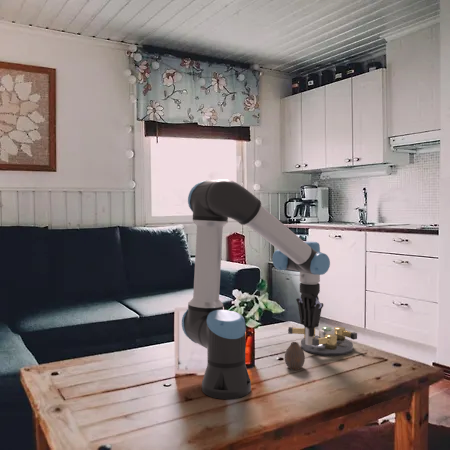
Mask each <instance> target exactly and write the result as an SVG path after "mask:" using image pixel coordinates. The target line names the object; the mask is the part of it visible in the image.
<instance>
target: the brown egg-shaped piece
mask: <svg viewBox="0 0 450 450" xmlns="http://www.w3.org/2000/svg"><path fill="white" fill-rule="evenodd" d="M305 359H306V356H305V352H304V350H303V349H302V348H301V345H299V342H298V341H292V342H290V344H289V346H288V347H287V348H286V350H285V353H284V362H285V364H286V367H287V368H288V369H290V370H295V371H296V370H300V369H301V368H302V367H303V366H304V364H305Z"/></svg>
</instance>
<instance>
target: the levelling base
mask: <svg viewBox="0 0 450 450" xmlns="http://www.w3.org/2000/svg"><path fill="white" fill-rule="evenodd" d="M326 334H334V335H335V330H334V328H332V327H331V326H322V327H321V328H319V329H318V335H315V338H316V339H317V338H322V337H325V335H326ZM300 347H301V349H302V350H303V352H304V351H305V352H306V353H309V354H313V355H316V354H317V356H324V357H325V356H326V357H339V356H340V357H341V356H345V355H348V354H351V353H352V352H353V350H354V344H353V342H352V341H351V340H348V339H347V338H345V340H344V341H337V348H336V349H327V348H325V344H321V345H318V346H314V345H312V344H311V345H306V344H305V340H304V338H302V339H301V340H300Z"/></svg>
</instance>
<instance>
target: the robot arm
mask: <svg viewBox="0 0 450 450" xmlns="http://www.w3.org/2000/svg"><path fill="white" fill-rule="evenodd" d="M187 204H188V207H189V209H190V210H191V212H192V222H193V223H194V224H195V226H196V237H195V256H194V257H195V259H194V273H193V274H194V278H193V293H192V296H193V297H192V299H191V300H189V302H188V304H187V309H186V311H185V312H184V313H183V315H182V318H181V328H182V331H183V333H184V335H185V336H186V337H187V338H188V339H189V340H190V341H192V343H195V344H197V345H199V346H201V347H202V348H203V347H204V348H205V349H207V351H206V352H207V357H206V358H207V365H206V369H205V372H204V375H203V378H202V382H201V391H202V393H203V394H204V395H206V396H208V397H210V398H214V399H220V400H234V399H239V398H242V397H245V396H247V395H249V394H250V393H251V392H252V380H251V378H250V374H249V372H248V368H247V366H246V333H247V328H246V322H245V318H244V316H243V315H242V314H241V313H239V312H238V311H237V312H236V311H233V310H229V309H224V304H223V302H222V301H221V300H220V288H221V287H220V286H221V268H222V267H221V265H222V247H223V229H224V227H225V226H226V224H228V221H229V219H232V220H234V221H236V222H237V223H238V224H240V225H241V226H246V225H247V227H249V228H250V229H251V230H253V231H254V232H255V233H256V234H258V235H259V236H260V237H262V238H263V239H264V240H265V241H266V242H267V243H269V244H270V245H272V246H273V247H274V248H275V249H276V250H275V251H274V252H273V254H272V264H273V266H274V269H276V270H278V271H287V270H289V271H290V270H291V271H296V272H299V281H300V283H299V293H300V297H297V298H296V303H297V306H298V313H299V314H298V315H299V320H300V324H301V325H303V326H304V327H303V328H305V344H306V345H311V344H312V339H313V336H314V328H315V329H316V328H318V327H319V326H320V318H321V314H322V309H323V307H324V303H322V302H320V300H319V294H320V292H321V291H320V290H321V289H320V288H321V286H320V285H321V284H320V282H321V276H322V275H325V274H326V273H327V272H328V271H329V270H330V266H331V260H330V257H329V256H328V254H326V253H323V252H321V247H320V243H319V242H317V241H304V240H303V239H302V238H300V237H299V236H298V235H297V234H296V233H295V232H293V231H292V230H291V229H289V228H288V227H287V226H286V225H285V224H284V223H282V221H280V220H279V219H278V218H277V217H275V216H274V214H272V213H270V211H268V210H267V209H266V208H265V207H263V206H262V204H263V203H262V201H261V200H260V199H259V198H258V197H256V196H255V195H254V194H253V193H252V192H251V191H249V190H248V189H247V188H245V187H243V186H242V185H241V184H239V183H237V182H235V181H233V180H230V179H212V180H211V179H210V180H209V179H207V180H203V181H200V182H198V183H196V184H195V185H193V187H191V189H190V191H189V193H188V196H187Z"/></svg>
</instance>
